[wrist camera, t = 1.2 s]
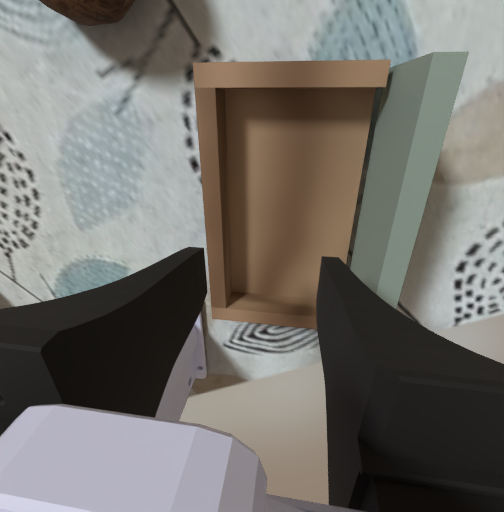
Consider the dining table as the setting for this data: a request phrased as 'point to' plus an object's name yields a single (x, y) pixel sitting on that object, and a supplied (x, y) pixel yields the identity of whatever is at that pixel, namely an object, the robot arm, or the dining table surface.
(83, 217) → the dining table surface
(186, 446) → the robot arm
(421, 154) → the panel
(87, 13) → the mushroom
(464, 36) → the dining table surface
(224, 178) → the crate
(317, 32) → the dining table surface
